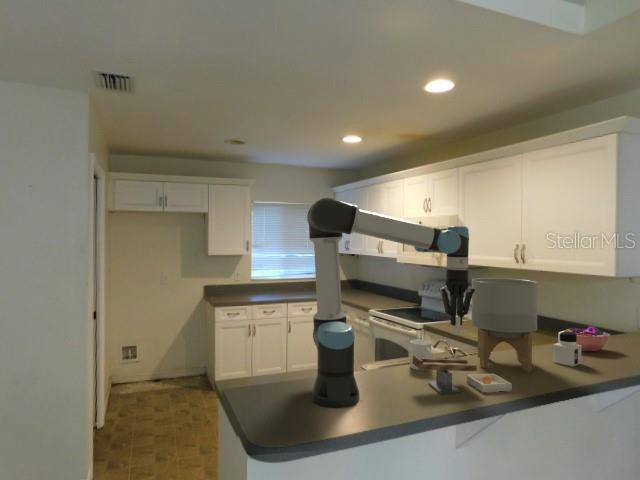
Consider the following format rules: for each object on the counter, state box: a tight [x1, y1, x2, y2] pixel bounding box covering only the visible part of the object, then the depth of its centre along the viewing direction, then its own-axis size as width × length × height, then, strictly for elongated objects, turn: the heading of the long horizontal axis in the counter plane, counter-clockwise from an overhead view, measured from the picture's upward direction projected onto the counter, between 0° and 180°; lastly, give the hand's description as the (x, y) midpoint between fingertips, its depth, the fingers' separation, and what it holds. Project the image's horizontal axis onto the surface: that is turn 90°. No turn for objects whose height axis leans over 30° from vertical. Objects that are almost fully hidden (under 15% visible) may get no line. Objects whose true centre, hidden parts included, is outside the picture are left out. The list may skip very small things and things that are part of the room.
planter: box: [470, 277, 538, 373], centre depth 175 cm, size 25×25×34 cm
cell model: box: [563, 325, 611, 352], centre depth 197 cm, size 17×20×11 cm
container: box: [552, 330, 582, 367], centre depth 176 cm, size 8×8×13 cm
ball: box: [482, 376, 492, 384], centre depth 147 cm, size 3×3×3 cm
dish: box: [466, 373, 513, 394], centre depth 147 cm, size 11×11×3 cm
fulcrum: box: [427, 370, 461, 395], centre depth 144 cm, size 7×10×7 cm
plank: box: [413, 355, 478, 372], centre depth 147 cm, size 20×13×3 cm, turn 98°
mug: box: [409, 339, 434, 372], centre depth 166 cm, size 12×8×10 cm
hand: (456, 334), depth 152 cm, fingers closed
